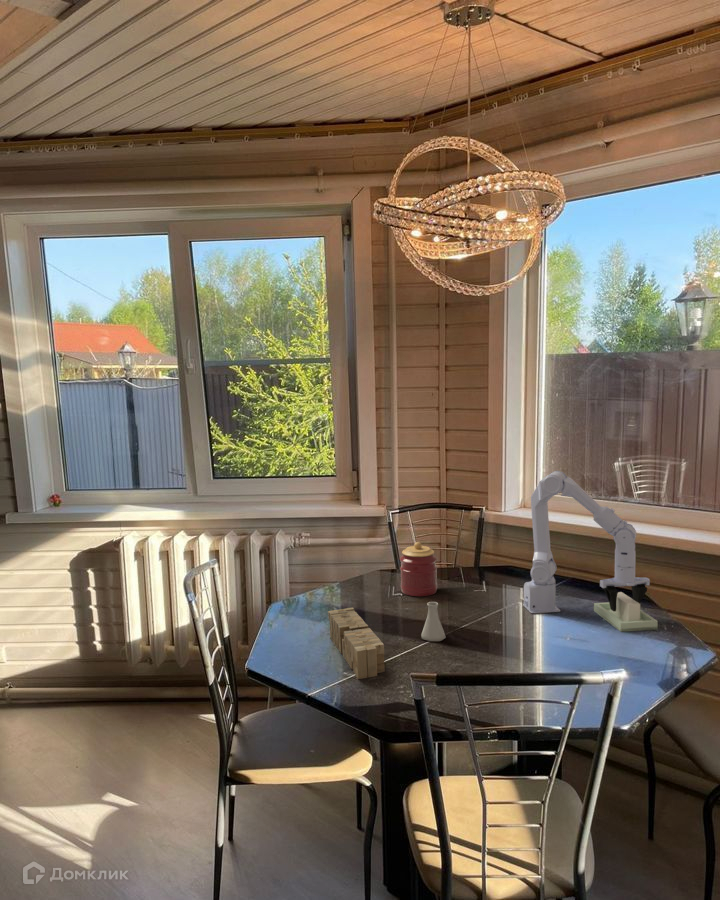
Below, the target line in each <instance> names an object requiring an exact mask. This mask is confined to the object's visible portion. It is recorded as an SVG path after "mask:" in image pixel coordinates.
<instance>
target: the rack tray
mask: <svg viewBox="0 0 720 900" xmlns="http://www.w3.org/2000/svg"><path fill="white" fill-rule="evenodd" d="M593 611H594V613H596V614H597V615H598V616H600V617H601V618H603V620H605V621H606V622H607V623H609V624H610V625H611V626H612V627H614V628H615V629H617V630H618V631H619V632H620V633H621V632H638V631H655V630H656V631H657V630H658V627H659V626H658V622H659V621H658V620H657V619H655V618H654V617H652V616H651V615H649V614H648V613H646V612H645V611H644V610H642V609H640V621H628V622H624V621H623V620H621V619H620V618H619V617H617V616H616V615H615V614H613V613H612V612H610V604H609V601H607V602H596V603H595V602H594V603H593Z"/></svg>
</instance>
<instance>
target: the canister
mask: <svg viewBox="0 0 720 900" xmlns="http://www.w3.org/2000/svg"><path fill="white" fill-rule="evenodd" d="M401 554H402V555H401V556H400V557H399V560H400V562H401V564H400V565H401V566H400V567H399V570H400V590H401V593H402V594H404V595H406V596H411V597H428V596H433V595H434V594H436V593H437V592H438V591H437V590H438V577H437V575H438V574H437V573H438V572H437V570H438V566H437V565H436V561H437V556H435V555H434V554H435V550H433V549H432V548H431V547H429V546H428V545H427V546H426V545H422V543H421V542H420V541H416V542H415V543H414V545H411V546H408V547H406V548H405V549H403V550H402V551H401Z"/></svg>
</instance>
